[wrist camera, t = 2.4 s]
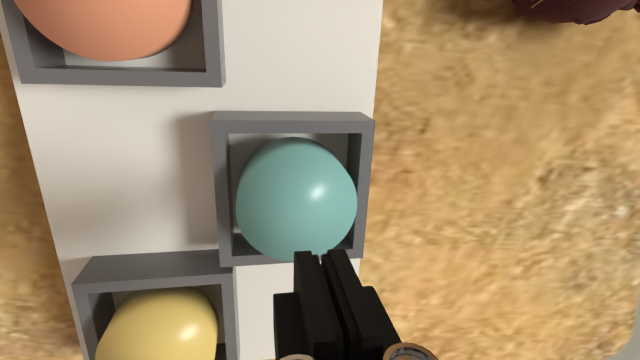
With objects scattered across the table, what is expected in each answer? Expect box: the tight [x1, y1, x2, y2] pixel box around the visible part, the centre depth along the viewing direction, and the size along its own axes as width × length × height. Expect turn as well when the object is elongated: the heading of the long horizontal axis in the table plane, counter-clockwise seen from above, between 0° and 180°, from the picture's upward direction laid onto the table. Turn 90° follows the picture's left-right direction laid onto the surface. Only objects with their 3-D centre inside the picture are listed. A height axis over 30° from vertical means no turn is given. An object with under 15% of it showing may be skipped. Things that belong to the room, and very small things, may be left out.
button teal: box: [236, 137, 357, 261], centre depth 17 cm, size 6×6×2 cm
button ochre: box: [95, 286, 219, 360], centre depth 19 cm, size 6×6×2 cm
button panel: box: [0, 0, 383, 360], centre depth 19 cm, size 26×17×6 cm, turn 178°
